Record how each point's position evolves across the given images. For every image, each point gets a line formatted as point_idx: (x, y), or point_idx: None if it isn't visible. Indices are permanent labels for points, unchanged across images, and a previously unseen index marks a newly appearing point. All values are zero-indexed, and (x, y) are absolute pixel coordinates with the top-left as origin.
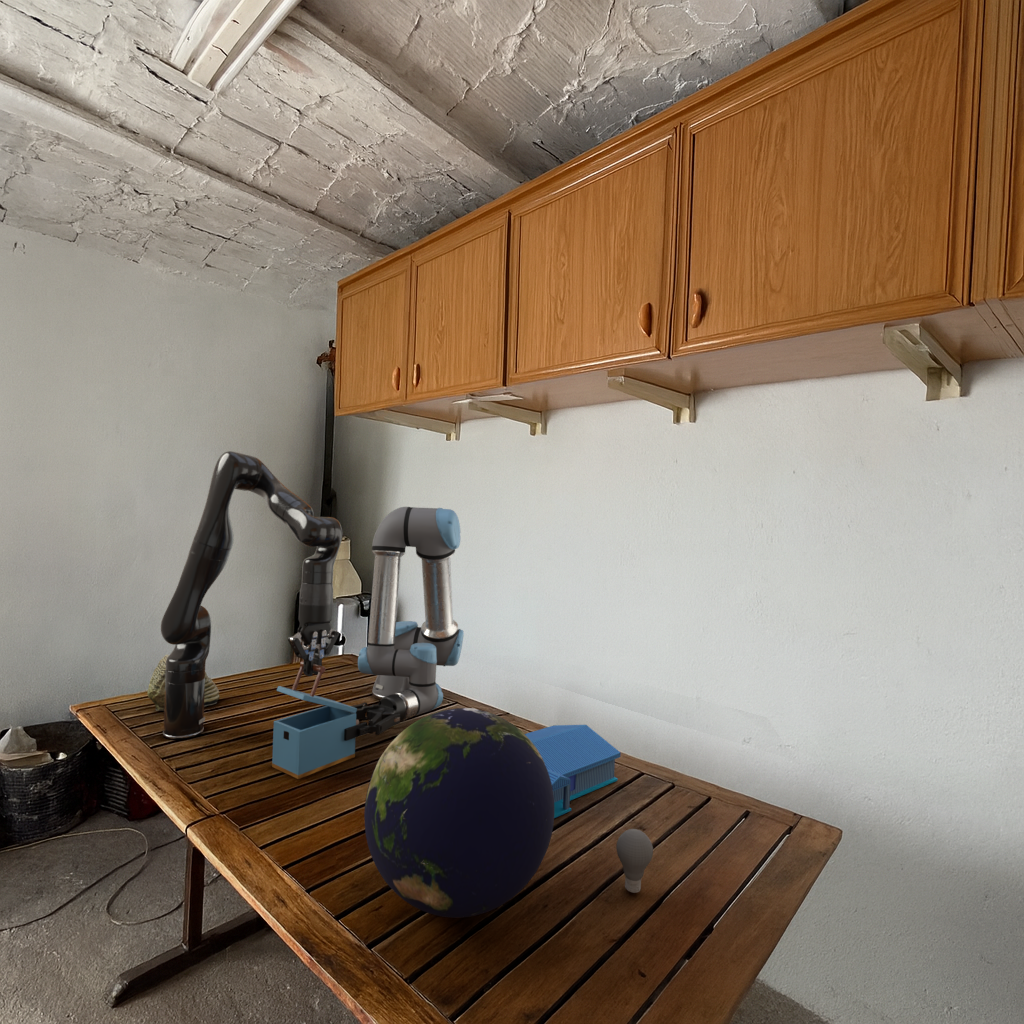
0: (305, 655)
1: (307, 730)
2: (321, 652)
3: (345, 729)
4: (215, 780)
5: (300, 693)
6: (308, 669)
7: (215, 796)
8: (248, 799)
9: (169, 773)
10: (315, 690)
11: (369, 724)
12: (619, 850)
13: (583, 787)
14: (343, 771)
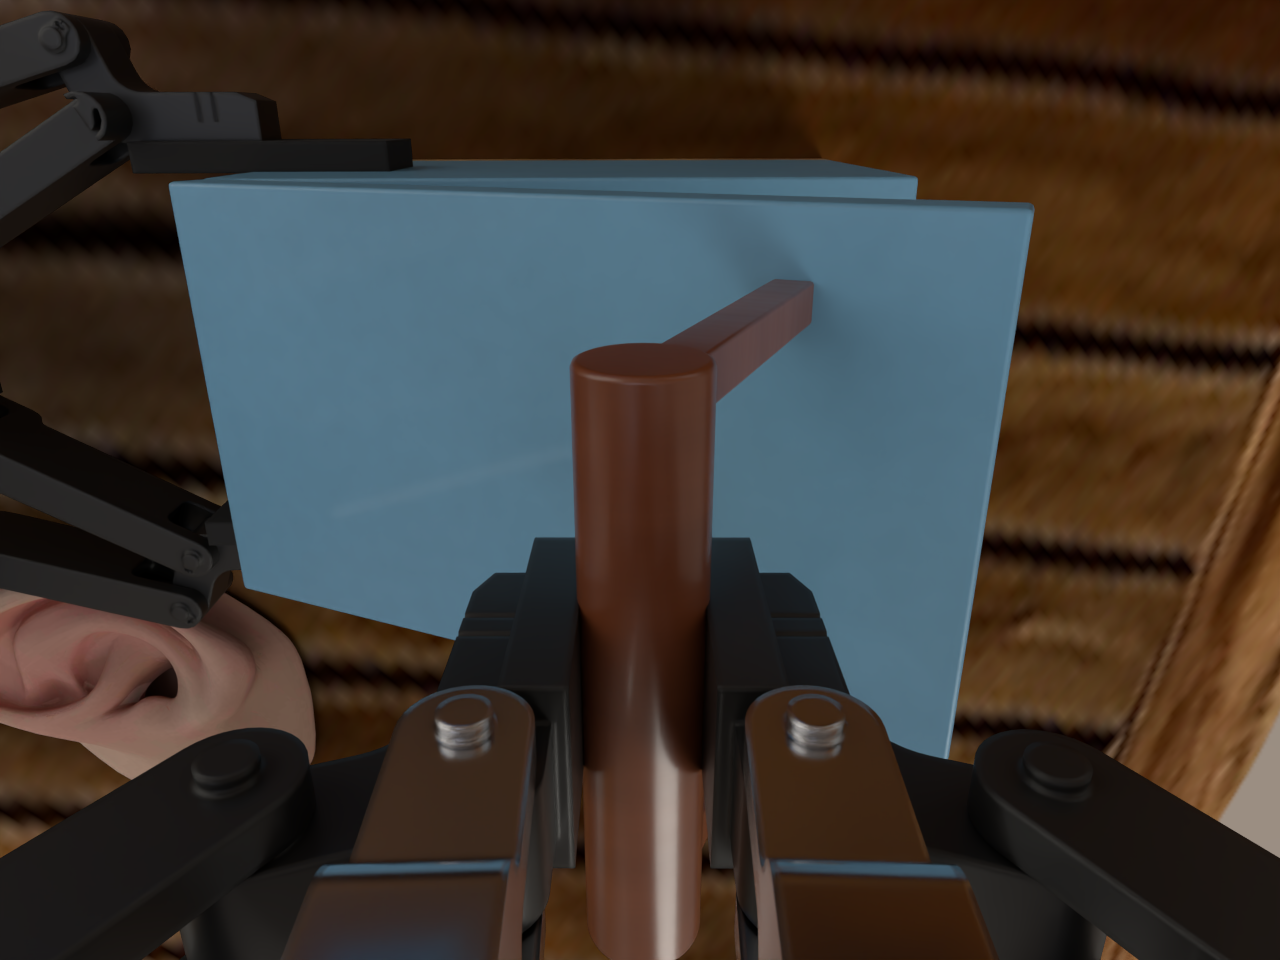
0: (1046, 797)
1: (829, 175)
2: (461, 798)
3: (389, 157)
4: (1098, 505)
5: (1014, 314)
6: (779, 620)
7: (1241, 331)
8: (1182, 151)
9: (1156, 727)
10: (756, 295)
11: (124, 113)
12: None
13: None
14: (546, 17)
